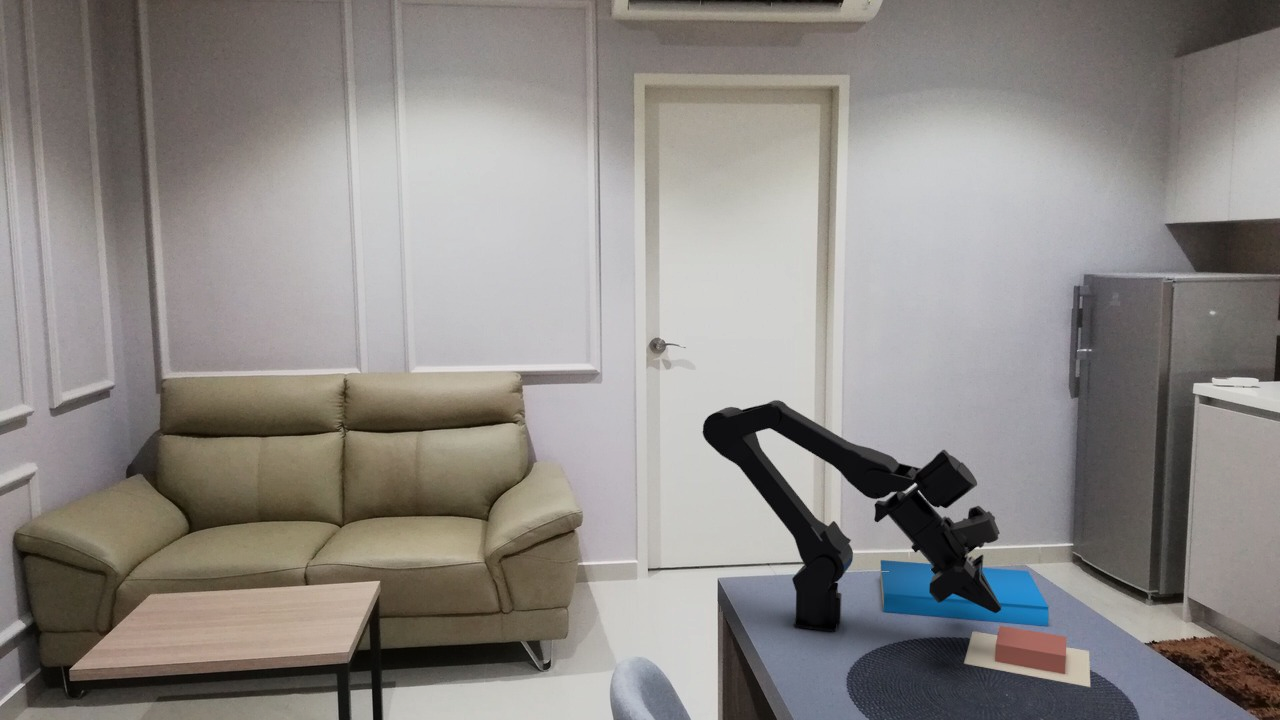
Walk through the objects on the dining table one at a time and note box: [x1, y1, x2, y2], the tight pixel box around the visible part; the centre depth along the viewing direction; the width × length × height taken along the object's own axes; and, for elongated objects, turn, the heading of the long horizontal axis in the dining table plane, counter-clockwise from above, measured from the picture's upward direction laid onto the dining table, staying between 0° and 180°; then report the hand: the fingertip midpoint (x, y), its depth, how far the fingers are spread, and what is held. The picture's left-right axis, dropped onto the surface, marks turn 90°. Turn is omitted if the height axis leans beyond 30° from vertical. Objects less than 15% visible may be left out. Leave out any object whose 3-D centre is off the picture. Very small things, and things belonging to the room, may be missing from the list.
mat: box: [963, 631, 1091, 688], centre depth 128 cm, size 16×12×1 cm
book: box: [879, 559, 1050, 627], centre depth 150 cm, size 17×4×25 cm
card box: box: [995, 625, 1067, 674], centre depth 128 cm, size 3×7×9 cm
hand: (998, 610), depth 129 cm, fingers closed
